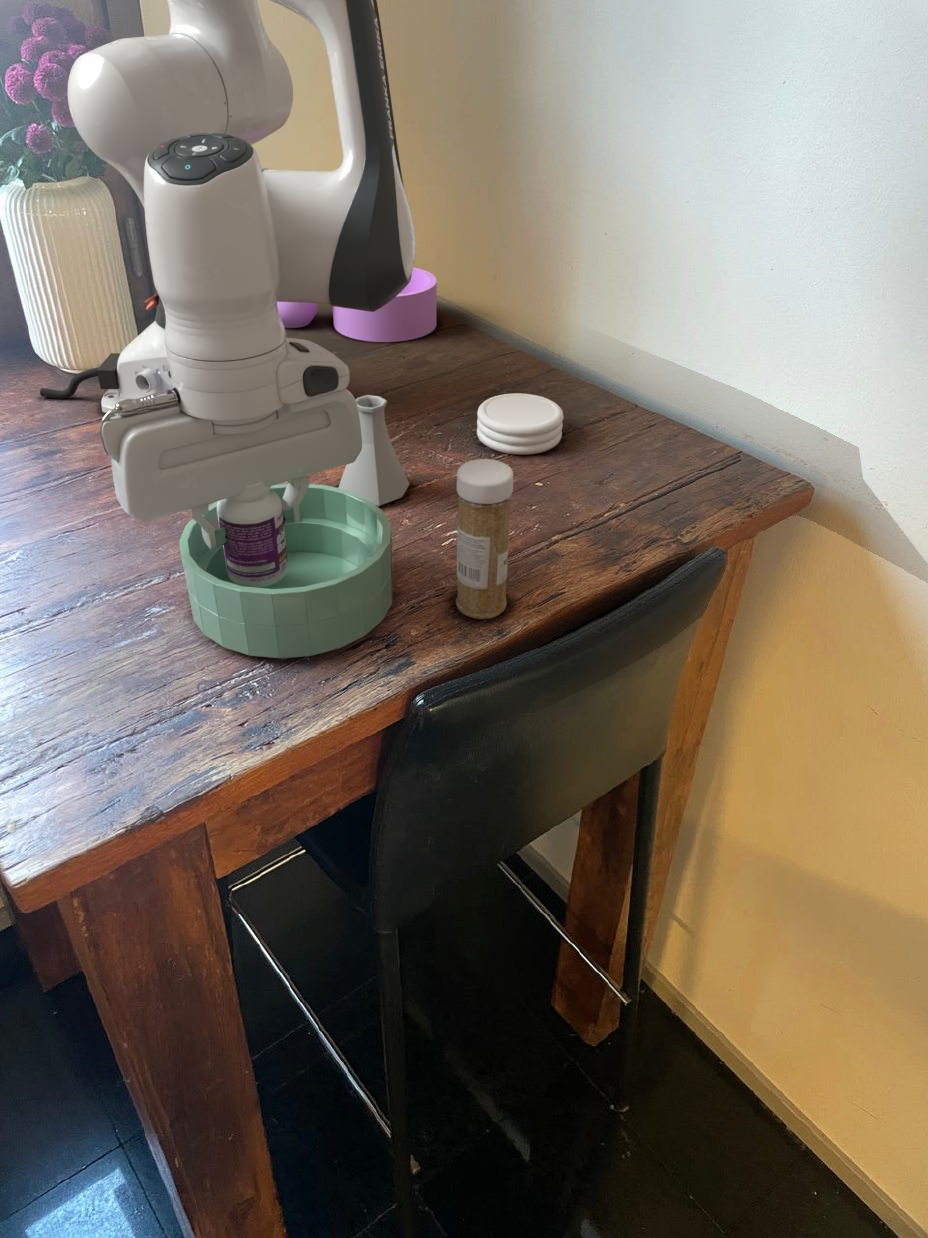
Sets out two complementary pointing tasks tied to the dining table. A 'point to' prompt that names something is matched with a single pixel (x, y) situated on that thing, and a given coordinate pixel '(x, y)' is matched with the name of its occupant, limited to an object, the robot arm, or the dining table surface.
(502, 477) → the sprinkles bottle
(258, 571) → the pill bottle
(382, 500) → the flask
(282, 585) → the mint green bowl
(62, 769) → the dining table surface
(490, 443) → the white round disc stack
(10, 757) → the dining table surface
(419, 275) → the container set
